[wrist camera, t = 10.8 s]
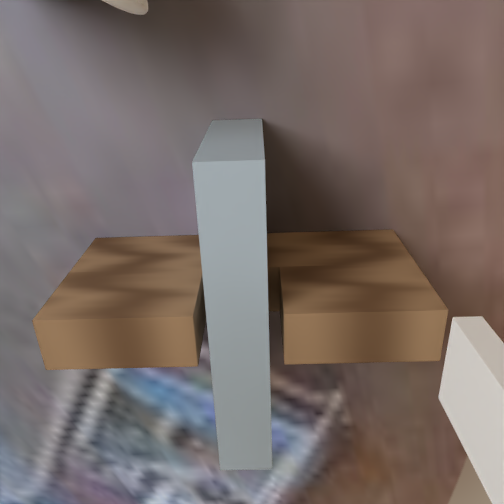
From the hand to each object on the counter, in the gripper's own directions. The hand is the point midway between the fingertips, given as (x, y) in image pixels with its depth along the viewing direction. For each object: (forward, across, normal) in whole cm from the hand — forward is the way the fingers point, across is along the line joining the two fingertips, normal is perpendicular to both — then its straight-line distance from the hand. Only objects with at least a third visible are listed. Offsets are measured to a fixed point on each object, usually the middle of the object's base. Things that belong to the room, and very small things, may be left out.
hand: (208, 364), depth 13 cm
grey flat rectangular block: (+19, 0, -6) cm, 20 cm away
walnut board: (+19, 0, -6) cm, 20 cm away
